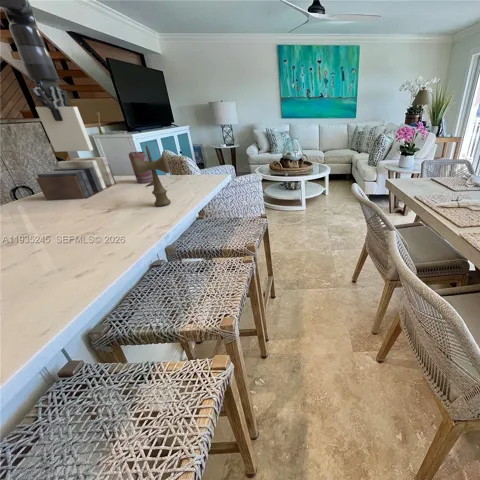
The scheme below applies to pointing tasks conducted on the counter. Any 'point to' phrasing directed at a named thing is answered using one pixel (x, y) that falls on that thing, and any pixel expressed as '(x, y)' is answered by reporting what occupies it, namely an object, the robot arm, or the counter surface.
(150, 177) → the can
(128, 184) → the counter surface
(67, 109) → the cream book
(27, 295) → the counter surface
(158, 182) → the kendama
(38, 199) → the counter surface
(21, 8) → the robot arm
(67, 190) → the book rack
